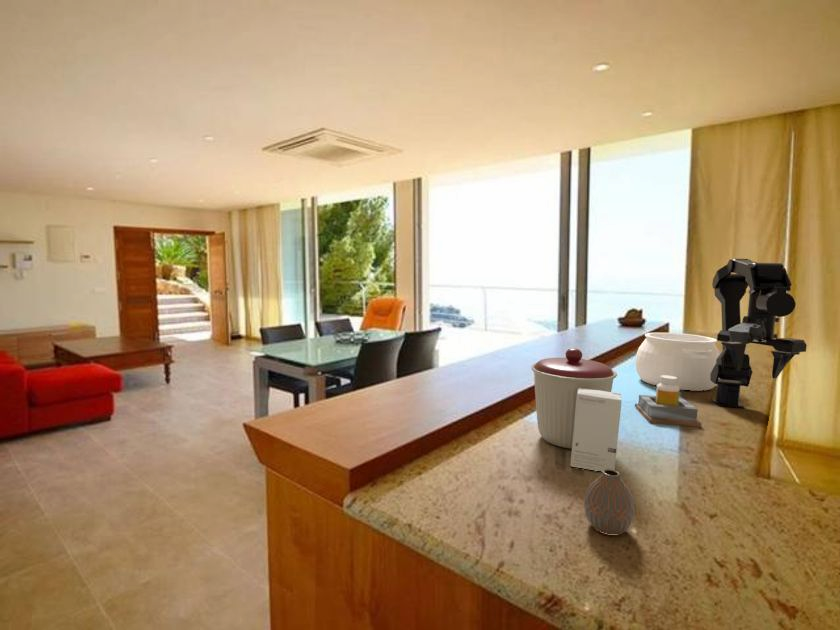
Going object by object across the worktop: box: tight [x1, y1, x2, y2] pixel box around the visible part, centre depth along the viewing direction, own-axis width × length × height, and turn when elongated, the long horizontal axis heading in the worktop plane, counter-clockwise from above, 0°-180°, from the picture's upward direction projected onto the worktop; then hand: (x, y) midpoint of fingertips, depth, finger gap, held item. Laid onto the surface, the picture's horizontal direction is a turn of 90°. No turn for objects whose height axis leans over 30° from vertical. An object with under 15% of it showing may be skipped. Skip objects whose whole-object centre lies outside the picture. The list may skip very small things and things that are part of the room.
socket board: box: [634, 394, 702, 428], centre depth 125 cm, size 14×12×4 cm
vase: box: [583, 469, 635, 535], centre depth 69 cm, size 7×7×9 cm
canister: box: [530, 347, 618, 450], centre depth 104 cm, size 18×18×21 cm
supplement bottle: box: [655, 375, 680, 406], centre depth 124 cm, size 5×5×10 cm
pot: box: [634, 332, 721, 392], centre depth 161 cm, size 29×26×16 cm
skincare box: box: [569, 388, 622, 471], centre depth 91 cm, size 8×6×15 cm
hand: (755, 374), depth 119 cm, fingers open, 9 cm apart
